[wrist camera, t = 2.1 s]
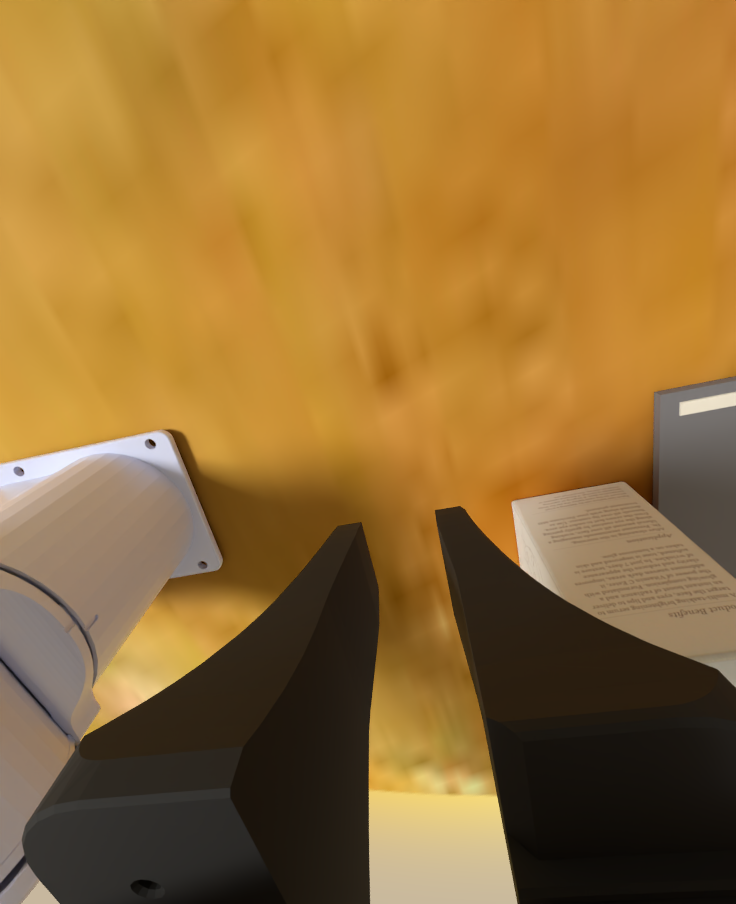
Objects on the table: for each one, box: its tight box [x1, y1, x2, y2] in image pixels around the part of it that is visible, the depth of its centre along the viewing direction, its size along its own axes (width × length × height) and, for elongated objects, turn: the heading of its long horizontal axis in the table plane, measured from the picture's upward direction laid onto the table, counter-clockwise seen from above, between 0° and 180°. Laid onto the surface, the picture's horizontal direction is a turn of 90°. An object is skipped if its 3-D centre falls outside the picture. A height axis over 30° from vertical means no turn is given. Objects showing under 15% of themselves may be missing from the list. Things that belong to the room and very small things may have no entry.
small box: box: [512, 482, 736, 687], centre depth 18 cm, size 8×6×10 cm
